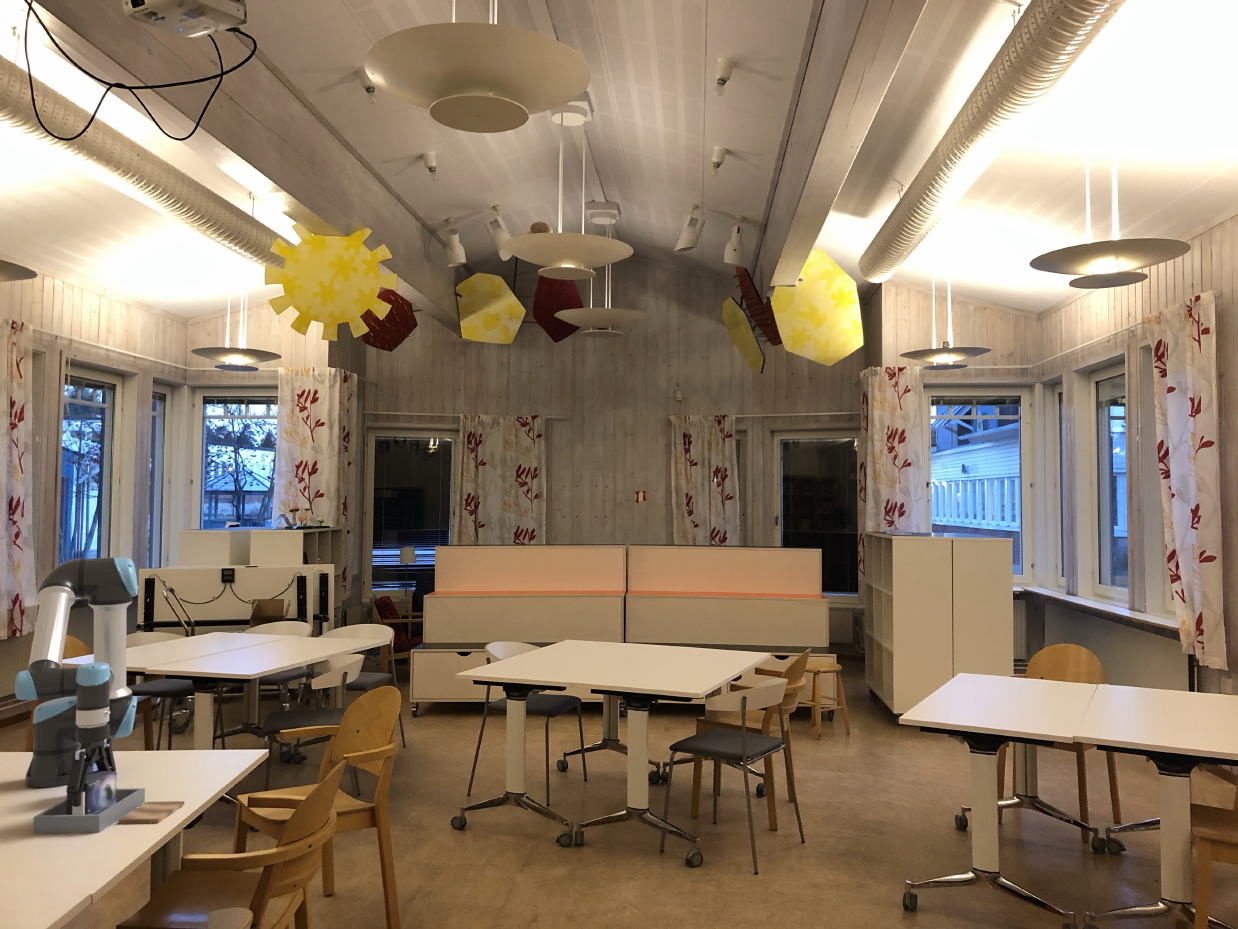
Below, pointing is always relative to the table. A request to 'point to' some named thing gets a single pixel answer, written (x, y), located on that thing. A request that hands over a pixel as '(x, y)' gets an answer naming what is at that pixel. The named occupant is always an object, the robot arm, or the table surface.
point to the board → (151, 812)
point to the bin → (62, 823)
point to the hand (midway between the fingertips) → (91, 810)
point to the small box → (97, 792)
